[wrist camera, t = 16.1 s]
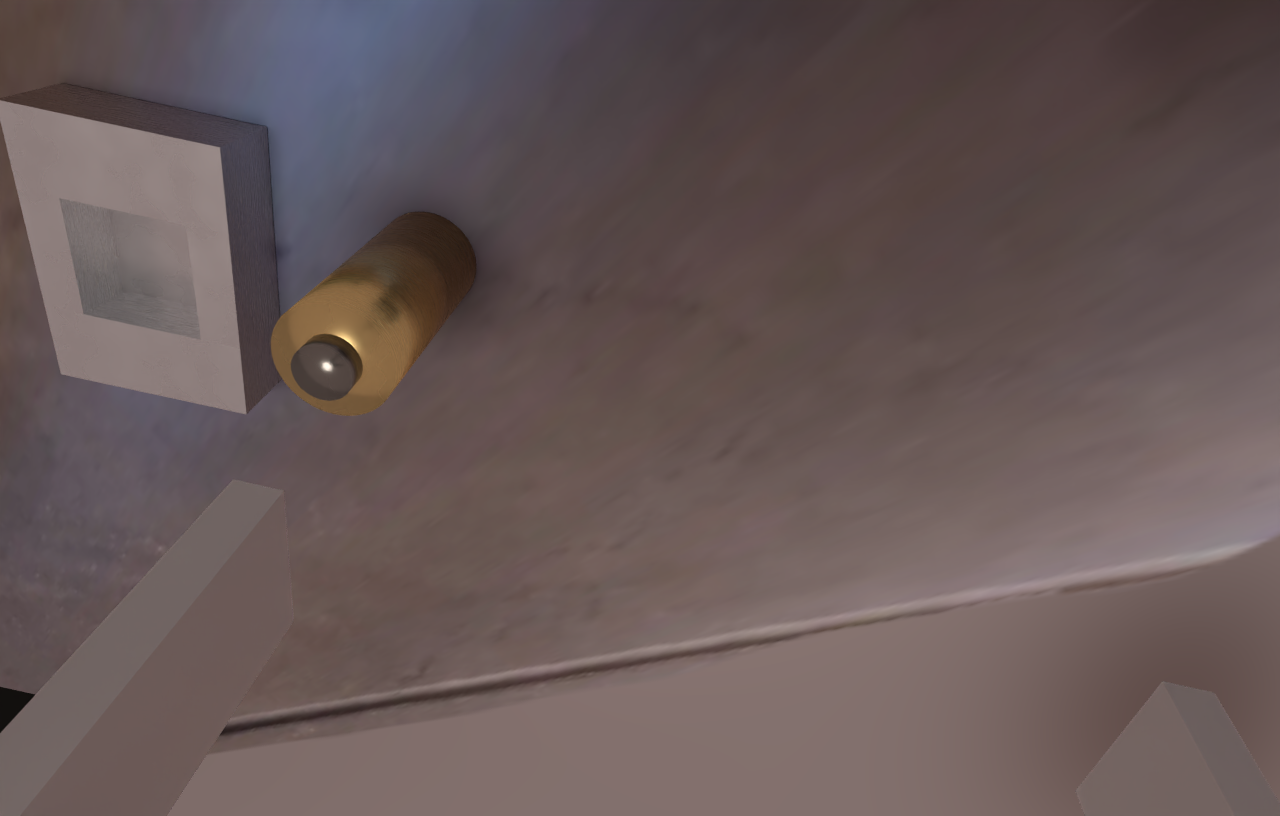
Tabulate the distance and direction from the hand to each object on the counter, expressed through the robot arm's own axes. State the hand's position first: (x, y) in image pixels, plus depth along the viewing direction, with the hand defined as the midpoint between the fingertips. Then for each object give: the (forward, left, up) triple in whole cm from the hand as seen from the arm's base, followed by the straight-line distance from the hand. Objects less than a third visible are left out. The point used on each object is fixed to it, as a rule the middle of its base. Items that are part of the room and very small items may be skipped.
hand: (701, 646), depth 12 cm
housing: (+10, -27, -29) cm, 41 cm away
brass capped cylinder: (+8, -14, -29) cm, 33 cm away
